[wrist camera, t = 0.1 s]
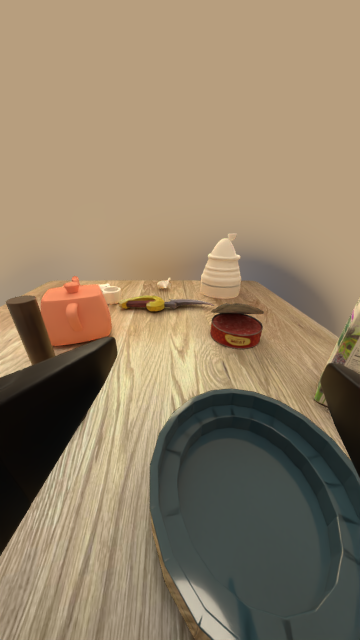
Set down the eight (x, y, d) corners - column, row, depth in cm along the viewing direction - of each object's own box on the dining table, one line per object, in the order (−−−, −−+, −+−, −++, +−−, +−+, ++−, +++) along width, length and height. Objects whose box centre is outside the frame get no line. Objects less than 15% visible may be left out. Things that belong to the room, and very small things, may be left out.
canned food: (208, 355, 41) (191, 312, 39) (235, 335, 46) (221, 296, 45) (256, 359, 31) (237, 303, 30) (282, 332, 37) (266, 284, 36)
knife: (209, 301, 56) (122, 302, 54) (210, 293, 55) (121, 293, 53) (215, 313, 49) (116, 314, 48) (216, 303, 48) (115, 304, 46)
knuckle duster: (120, 290, 64) (123, 306, 52) (60, 295, 59) (46, 314, 47) (119, 280, 63) (121, 295, 50) (57, 284, 57) (42, 301, 45)
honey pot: (232, 286, 71) (240, 233, 63) (244, 298, 59) (255, 235, 51) (197, 286, 70) (201, 232, 62) (203, 298, 59) (208, 234, 51)
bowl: (450, 766, 8) (543, 788, 6) (116, 640, 10) (103, 626, 8) (306, 429, 22) (320, 401, 19) (174, 406, 24) (174, 379, 22)
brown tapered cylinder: (69, 440, 20) (19, 314, 13) (27, 431, 21) (-39, 308, 14) (96, 401, 24) (68, 292, 18) (61, 395, 25) (22, 288, 19)
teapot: (42, 364, 30) (18, 303, 26) (57, 317, 45) (44, 273, 41) (116, 348, 35) (108, 293, 30) (108, 310, 49) (101, 270, 45)
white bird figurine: (152, 284, 69) (156, 271, 67) (164, 287, 71) (168, 275, 70) (159, 291, 62) (164, 277, 61) (172, 294, 64) (176, 281, 63)
